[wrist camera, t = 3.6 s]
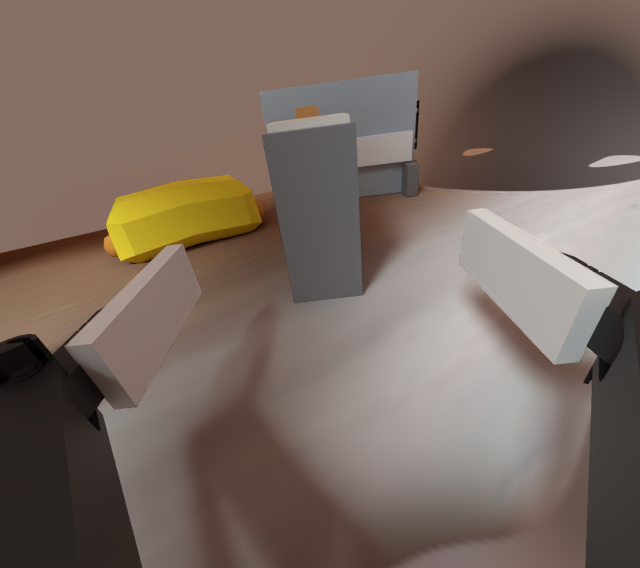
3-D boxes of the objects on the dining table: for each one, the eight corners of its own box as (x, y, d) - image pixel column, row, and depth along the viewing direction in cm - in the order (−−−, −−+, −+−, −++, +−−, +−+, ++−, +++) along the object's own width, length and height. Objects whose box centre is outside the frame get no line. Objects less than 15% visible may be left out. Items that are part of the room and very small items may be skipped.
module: (294, 303, 21) (257, 113, 15) (298, 242, 30) (276, 110, 24) (362, 295, 21) (354, 99, 15) (345, 236, 30) (336, 102, 24)
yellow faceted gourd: (115, 252, 34) (109, 278, 28) (84, 196, 31) (71, 212, 25) (258, 214, 41) (278, 229, 35) (246, 164, 37) (266, 171, 31)
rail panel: (279, 212, 40) (255, 90, 32) (281, 202, 44) (261, 92, 36) (417, 195, 39) (425, 67, 32) (407, 187, 43) (413, 71, 36)
